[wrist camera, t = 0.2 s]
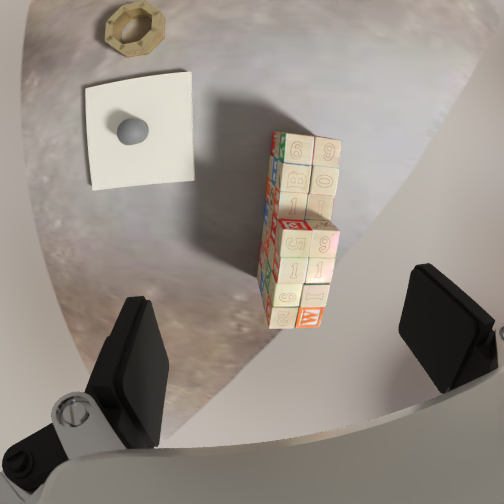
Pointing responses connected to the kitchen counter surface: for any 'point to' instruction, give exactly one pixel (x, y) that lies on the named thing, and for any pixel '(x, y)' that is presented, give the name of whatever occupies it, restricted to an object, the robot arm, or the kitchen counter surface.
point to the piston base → (162, 137)
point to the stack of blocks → (298, 229)
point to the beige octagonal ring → (124, 17)
